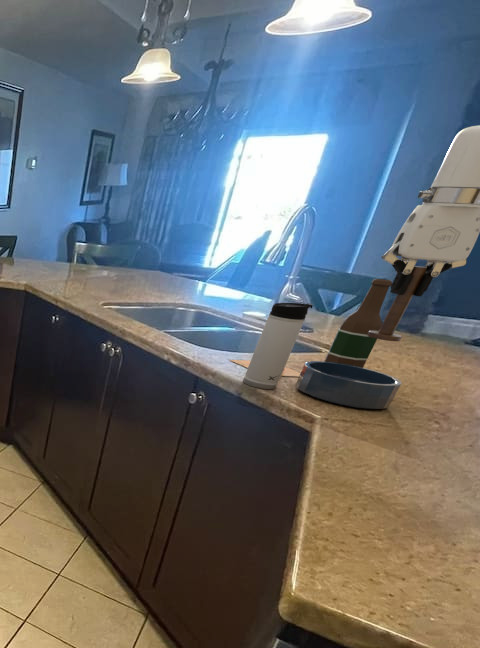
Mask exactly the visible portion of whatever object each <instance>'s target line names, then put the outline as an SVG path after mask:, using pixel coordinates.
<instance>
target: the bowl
mask: <svg viewBox="0 0 480 648" xmlns="http://www.w3.org/2000/svg"><path fill="white" fill-rule="evenodd" d="M324 361H325V360H324ZM324 361H322V360H311V361H306V362H305V363H304V365H303V367H302V369H301V372H300V373H301V374H300V376H298V378H297V380H296V383H295V385H294V386H295V387H296V388H297V390H299V391H300V392H303V393H305V394H306V395H308V394H309V396H310V395H311V396H310V397H313V398H315V397H316V398H315V399H318V400H321V399H322V400H321V401H324V400H325V401H324V402H327V401H328V402H327V403H331V404H334V403H335V405H339V406H343V405H345V406H344V407H349V408H355V409H367V410H368V409H369V410H370V409H372V410H383V409H387V408H390V405H391V404H392V402H393V400H394V398H395V396H396V395H397V393H398V391H399V390H400V387H401V385H402V381H401V380H400V379H398V378H397V377H395V376H393V375H389V374H387V373H384V372H381V371H379V370H378V371H377V370H374V369H370V368H366V367H358V366H353V365H348V364H341V363H335V362H324Z"/></svg>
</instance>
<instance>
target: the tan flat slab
mask: <svg viewBox="0 0 480 648" xmlns="http://www.w3.org/2000/svg"><path fill="white" fill-rule="evenodd" d="M250 361H251V360H248V359H246V360H243V359H230V362H232V363H235V364H237V365H239V366H242V367H244V368H246V369H248V366H249V364H250ZM300 374H301V372H299V371H297V370H294V369H292V368H289V367H286V366H285V367H284V370H283V372H282V374H281V377H299V376H300Z"/></svg>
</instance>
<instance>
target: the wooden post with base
mask: <svg viewBox="0 0 480 648" xmlns="http://www.w3.org/2000/svg"><path fill="white" fill-rule="evenodd" d="M426 269H427V267H425V266H420V265H419V266H417V265H415V266H414V268H413V269H412V271H411V273H410V275H412V279H411V281H410V283H409V285H408V286H407V288H406V290H405V292H404V294H402V295H398V294H396V295H395V298H394V300H393V302H392V303H391V306H390V308H389V309H388V312H387V314H386V316H385V317H384V320H383V321H382V326H381V328H380V330H379V331H374V330H371V331H369V332H368V334H367V336H369V337H372V338H376V339H377V340H380V341H381V340H382V341H386V342H387V341H388V342H400V341H401V339H402V338H403V335H401V334H397V333H395V331H396V330H397V327H398V326H399V323H400V322H401V319H402V318H403V316H404V314H405V312H406V310H407V308H408V306H409V304H410V302H411V300H412V298H413V296H414V293H415V291H416V289H417V287H418V285H419V283H420V281H421V279H422V277H423V275H424V273H425V271H426Z"/></svg>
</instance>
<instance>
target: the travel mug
mask: <svg viewBox="0 0 480 648" xmlns="http://www.w3.org/2000/svg"><path fill="white" fill-rule="evenodd" d="M309 309H313V303H299V302H276V303H274V304H273V305H272V307H271V310H270V312H269V313H268V316H267V319H266V320H265V324H264V326H263V328H262V331H261V334H260V336H259V339H258V341H257V344H256V346H255V349H254V352H253V354H252V355H251V356H252V357H251V359H250V360H249V361H250V364H249V366H248V368H246V371H245V375H244V377H243V380H242V383H244V384H245V385H247V386H249V387H252V388H256V389H260V390H274V389H276V388H277V386H278V383H279V382H280V379H281V377H282V376H281V374H282V372H283V370H284V367H286V365H287V363H288V360H289V358H290V355H291V354H292V352H293V351H292V350H293V348H294V346H295V344H296V341H297V340H298V337H299V335H300V332H301V330H302V327H303V325H304V323H305V321H306V317H307V315H308V311H309Z"/></svg>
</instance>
